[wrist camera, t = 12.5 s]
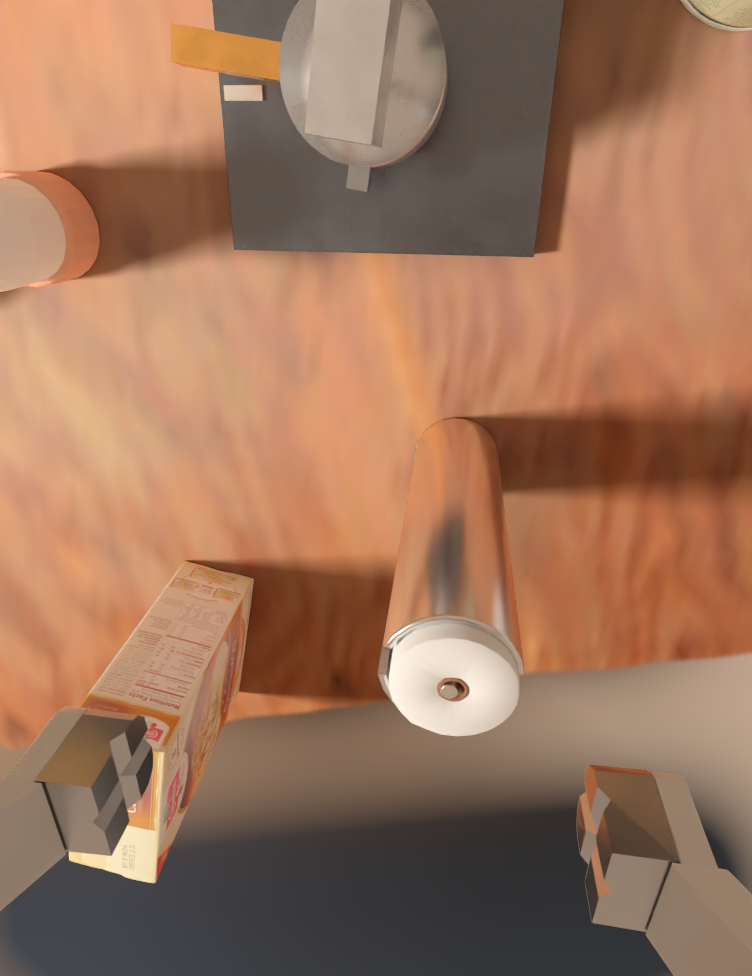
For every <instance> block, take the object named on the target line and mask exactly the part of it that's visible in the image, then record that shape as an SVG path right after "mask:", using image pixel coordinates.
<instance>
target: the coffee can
mask: <svg viewBox="0 0 752 976" xmlns="http://www.w3.org/2000/svg"><path fill="white" fill-rule="evenodd" d="M680 1H681V2H682V4H683V5H684V6H685V7H686V9H687V10H688V11H689V12H690V13H692V14H693V15H694V16H695V17H696V18H698V19H699V20H701V21H702V22H704V23H705V24H707V25H709V26H711V27H714V28H717V29H722V30H727V31H752V0H680Z"/></svg>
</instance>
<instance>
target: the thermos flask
mask: <svg viewBox="0 0 752 976" xmlns="http://www.w3.org/2000/svg"><path fill="white" fill-rule="evenodd" d="M377 674H378V677H379V680H380V683H381V687H382V689H383V690H384V692H385V693H386V695H387V696H388V698H389V699H390V700H391V702H393V703H394V704H395V705H396V706H397V708H398V709H399V711H400V712H401V713H402V714H403V715H404V716H405V717H406V718H407V719H408V720H409V721H410V722H411V723H413V724H416V725H418V726H420V727H422V728H425V729H427V730H430V731H433V732H436V733H438V734H442V735H451V736H466V735H475V734H478V733H482V732H485V731H488V730H490V729H492V728H494V727H495V726H497V725H499V724H501V723H502V722H503V721H504V720H506V719H507V718H508V717H509V716H510V715H511V714H512V712H513V710H514V709H515V707H516V705H517V703H518V699H519V692H520V685H519V675H518V674H525V672H524V663H523V655H522V647H521V639H520V631H519V623H518V614H517V606H516V598H515V590H514V582H513V574H512V565H511V557H510V549H509V541H508V533H507V525H506V516H505V508H504V500H503V492H502V484H501V476H500V467H499V459H498V452H497V447H496V444H495V442H494V440H493V438H492V436H491V435H490V433H489V432H488V431H487V430H486V429H485V428H484V427H482V426H481V425H479V424H477V423H476V422H474V421H470V420H467V419H462V418H451V419H445V420H441V421H439V422H437V423H435V424H433V425H431V426H430V427H429V428H428V429H427V430H425V431H424V432H423V434H422V435H421V437H420V438H419V440H418V442H417V445H416V448H415V455H414V465H413V470H412V476H411V482H410V488H409V493H408V499H407V505H406V511H405V516H404V522H403V528H402V534H401V539H400V545H399V551H398V557H397V562H396V568H395V574H394V580H393V586H392V591H391V597H390V603H389V609H388V614H387V620H386V626H385V632H384V637H383V643H382V649H381V655H380V660H379V666H378V672H377Z"/></svg>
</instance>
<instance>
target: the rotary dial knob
mask: <svg viewBox="0 0 752 976" xmlns="http://www.w3.org/2000/svg"><path fill="white" fill-rule="evenodd" d="M171 62H174V63H176V64H179V65H181V66H184V67H190V68H196V69H201V70H207V71H213V72H218V73H224V74H230V75H236V76H241V77H247V78H253V79H258V80H264V81H270V82H275V83H280V86H281V91H282V96H283V99H284V102H285V105H286V108H287V111H288V113H289V115H290V117H291V120H292V121H293V123H294V125H295V126H296V128H297V130H298V131H299V132H300V134H301V135H302V136H303V138H304V139H305V140H306V141H307V142H308V143H309V144H310V145H311V146H312V147H313V148H314V149H316V150H317V151H318V152H320V153H321V154H322V155H324V156H326V157H328V158H329V159H331V160H334V161H336V162H339V163H342V164H346V165H349V168H348V177H347V185H346V188H348V189H353V190H359V191H364V192H370V186H371V179H372V172H373V168H374V167H385V166H390V165H393V164H396V163H398V162H400V161H402V160H404V159H406V158H408V157H409V156H411V155H412V154H414V153H415V152H416V151H417V150H418V149H419V148H420V147H422V146H423V144H424V143H425V142H426V141H427V140H428V138H429V137H430V136H431V134H432V133H433V131H434V129H435V128H436V126H437V124H438V122H439V120H440V117H441V114H442V111H443V109H444V105H445V100H446V95H447V87H448V71H447V62H446V55H445V49H444V43H443V39H442V34H441V31H440V28H439V25H438V22H437V19H436V17H435V15H434V13H433V11H432V9H431V7H430V6H429V4H428V3H427V1H426V0H299V1H298V3H297V4H296V6H295V7H294V9H293V11H292V13H291V15H290V17H289V19H288V21H287V24H286V27H285V30H284V33H283V37H282V41H281V42H277V41H271V40H266V39H260V38H254V37H248V36H242V35H237V34H231V33H225V32H219V31H213V30H208V29H202V28H196V27H190V26H184V25H179V24H173V23H171Z"/></svg>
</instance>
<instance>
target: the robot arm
mask: <svg viewBox="0 0 752 976" xmlns="http://www.w3.org/2000/svg"><path fill="white" fill-rule="evenodd" d="M147 730H148V728H147V725H146V721H145V717H144V716H139V715H132V714H125V713H118V712H111V711H104V710H97V709H88V708H80V707H73V706H65V707H63V708H62V709H60V710H59V711H57V712H56V713H55V715H54V716H53V717H52V719H51V720H50V721H49V723H48V724H47V725H46V726H45V728H44V729H43V730H42V732H41V733H40V734H39V736H38V737H37V738H36V740H35V741H34V742H33V743H32V745H31V746H30V747H29V749H28V750H27V751H26V753H25V754H24V755H23V757H22V758H21V759H20V760H19V762H18V763H17V764H16V766H15V767H14V768H13V770H12V771H11V772H10V773H9V775H8V776H7V777H6V778H0V911H1V910H2V909H3V908H4V907H5V906H7V905H8V904H9V903H10V902H11V901H12V900H13V899H15V898H16V897H17V896H18V895H19V894H21V893H22V892H23V891H24V890H25V889H26V888H27V887H29V886H30V885H31V884H32V883H33V882H34V881H35V880H37V879H38V878H39V877H40V876H41V875H43V874H44V873H45V872H46V871H47V870H48V869H49V868H50V867H52V866H53V865H54V864H55V863H56V862H57V861H59V860H60V859H61V858H62V857H63V856H64V855H66V852H65V851H69V852H78V853H87V854H97V855H106V856H112V854H113V852H114V850H115V848H116V846H117V844H118V842H119V841H120V839H121V837H122V835H123V833H124V831H125V829H126V827H127V825H128V823H129V822H130V820H129V815H128V808H129V807H131V806H132V805H133V804H135V803H136V802H138V801H139V800H140V799H141V798H142V796H143V794H144V792H145V790H146V788H147V786H148V784H149V781H150V777H151V773H152V769H153V751H152V746H151V745H150V744H149V743H148V742H147V741H146V740H145V739H144V738H143V737H144V735H145V733H146V731H147ZM584 781H585V787H586V792H585V793H584V794H582V795H581V796H580V798H579V803H578V808H577V836H578V844H579V850H580V855H581V856H582V857H583V859H584V860H585V861H586V862H587V863H588V865H589V866H588V870H587V874H586V878H585V886H586V891H587V897H588V903H589V908H590V914H591V920H592V923H597V924H603V925H609V926H615V927H621V928H627V929H633V930H638V931H645V932H646V936H647V937H648V939H649V940H650V942H651V943H652V945H653V946H654V948H655V949H656V950H657V952H658V953H659V955H660V956H661V958H662V959H663V961H664V962H665V963H666V965H667V966H668V968H669V969H670V971H671V972H672V974H673V975H674V976H752V894H751V893H750V892H749V891H748V890H747V889H746V888H745V887H744V886H743V885H742V884H741V883H740V882H739V881H738V880H737V879H736V878H735V877H734V876H733V875H732V874H731V873H730V872H729V871H728V870H724V869H718V867H717V865H716V863H715V859H714V857H713V854H712V851H711V849H710V846H709V844H708V841H707V838H706V835H705V833H704V830H703V827H702V824H701V822H700V819H699V816H698V814H697V811H696V808H695V806H694V803H693V800H692V798H691V795H690V792H689V790H688V787H687V784H686V781H685V780H684V778H683V777H682V776H681V775H679V774H670V773H660V772H652V771H649V772H648V771H647V770H638V769H628V768H618V767H607V766H598V765H597V766H596V765H589V766H588V768H587V769H586V773H585V777H584Z"/></svg>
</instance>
